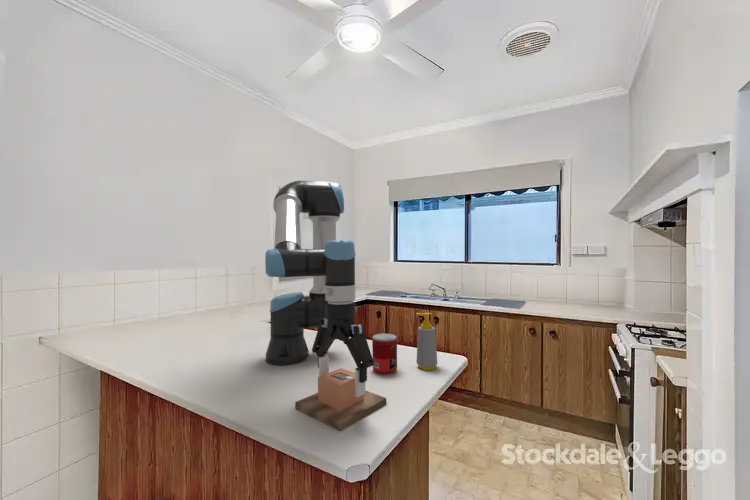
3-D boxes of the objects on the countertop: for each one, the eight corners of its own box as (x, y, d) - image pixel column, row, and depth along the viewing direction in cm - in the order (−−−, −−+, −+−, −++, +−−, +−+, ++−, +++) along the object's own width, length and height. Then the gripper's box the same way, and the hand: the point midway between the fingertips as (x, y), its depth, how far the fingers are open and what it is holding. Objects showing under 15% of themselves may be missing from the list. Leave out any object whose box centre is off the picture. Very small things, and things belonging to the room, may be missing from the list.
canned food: (395, 375, 101) (395, 340, 101) (370, 373, 103) (369, 338, 103) (398, 366, 109) (398, 333, 109) (375, 365, 110) (374, 332, 110)
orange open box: (318, 401, 81) (317, 375, 81) (341, 390, 87) (341, 366, 87) (340, 411, 76) (340, 383, 76) (363, 399, 82) (363, 373, 82)
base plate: (295, 408, 81) (295, 377, 81) (342, 387, 93) (342, 360, 93) (340, 430, 70) (339, 395, 70) (386, 403, 82) (386, 374, 82)
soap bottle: (415, 363, 112) (414, 311, 112) (435, 363, 112) (435, 311, 112) (417, 370, 105) (416, 315, 105) (439, 370, 105) (438, 314, 105)
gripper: (298, 299, 87) (298, 380, 87) (366, 309, 71) (367, 408, 71) (320, 296, 93) (320, 372, 92) (388, 304, 77) (389, 396, 76)
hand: (341, 387), depth 82 cm, fingers open, 12 cm apart
